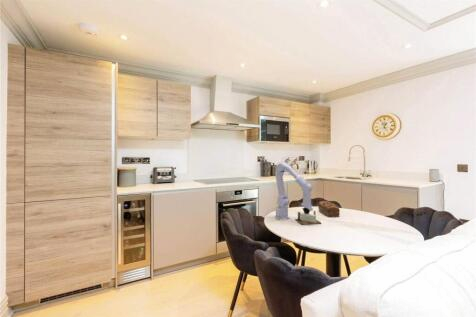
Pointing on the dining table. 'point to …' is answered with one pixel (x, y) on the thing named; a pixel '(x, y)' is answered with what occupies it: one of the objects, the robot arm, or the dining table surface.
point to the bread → (328, 209)
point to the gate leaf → (308, 217)
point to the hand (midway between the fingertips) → (306, 217)
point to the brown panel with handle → (306, 221)
